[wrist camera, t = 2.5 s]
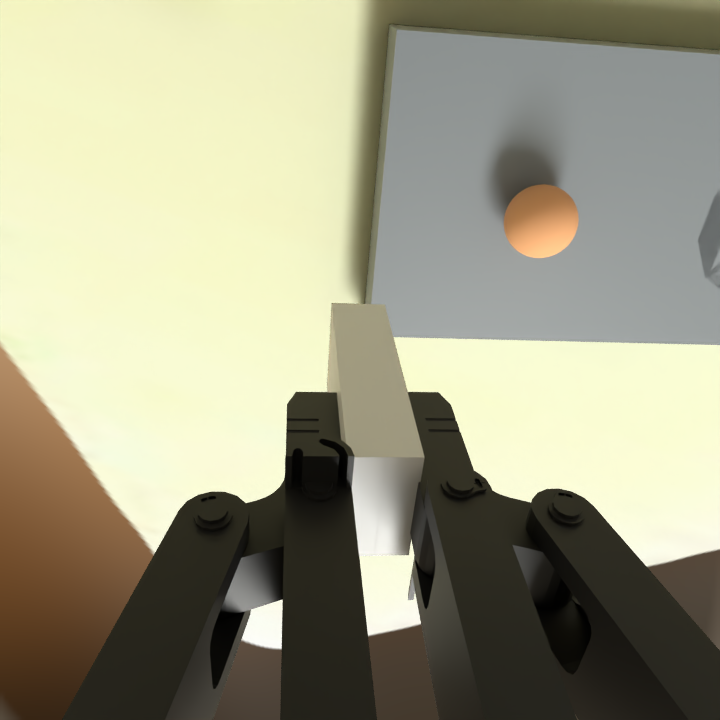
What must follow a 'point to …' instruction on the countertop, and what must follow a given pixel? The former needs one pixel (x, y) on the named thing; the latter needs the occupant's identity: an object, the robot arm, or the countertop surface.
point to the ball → (541, 221)
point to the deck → (552, 167)
